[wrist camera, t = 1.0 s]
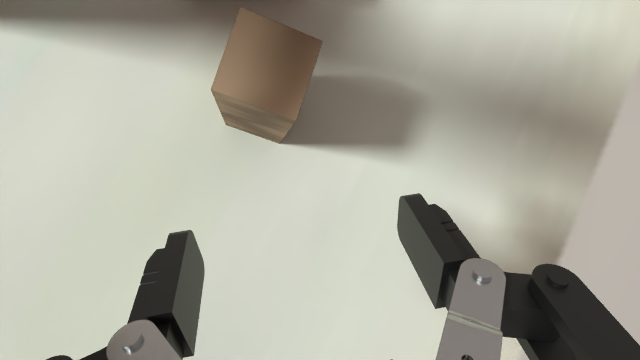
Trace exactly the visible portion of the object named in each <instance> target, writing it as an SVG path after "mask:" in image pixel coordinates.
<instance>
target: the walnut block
mask: <svg viewBox="0 0 640 360" xmlns="http://www.w3.org/2000/svg"><path fill="white" fill-rule="evenodd" d="M322 42H323V41H321V40H318V39H316V38H314V37H311V36H309V35H306V34H304V33H302V32H299V31H297V30H294V29H292V28H290V27H287V26H285V25H282V24H280V23H278V22H275V21H273V20H270V19H268V18H266V17H263V16H261V15H258V14H256V13H254V12H251V11H249V10H246V9H244V8H242V7H240V9H239V12H238V15H237V17H236V20H235V23H234V26H233V29H232V32H231V34H230V37H229V40H228V43H227V46H226V48H225V51H224V54H223V57H222V60H221V62H220V65H219V68H218V71H217V74H216V76H215V79H214V82H213V85H212V88H211V91H212V93H213V96H214V98H215V100H216V103H217V105H218V107H219V110H220V112H221V114H222V117H223V119H224V121H225V124H226V125H228V126H231V127H234V128H237V129H239V130H242V131H245V132H248V133H251V134H254V135H256V136H259V137H262V138H265V139H268V140H271V141H273V142H276V143H279V144H280V142H281V141H282V140H283V138H284V137H285V135H286V134H287V133H288V131H289V130H290V128H291V127H292V126H293V124H294V123H295V121H296V119H297V116H298V113H299V110H300V107H301V104H302V101H303V98H304V95H305V92H306V89H307V86H308V83H309V80H310V78H311V75H312V72H313V69H314V66H315V63H316V60H317V57H318V54H319V51H320V48H321V45H322Z"/></svg>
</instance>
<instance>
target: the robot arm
mask: <svg viewBox="0 0 640 360" xmlns="http://www.w3.org/2000/svg"><path fill="white" fill-rule="evenodd" d="M397 228H398V235H399V238H400V241H401V243H402V245H403V247H404V249H405V251H406V252H407V254H408V256H409V258H410V260H411V262H412V264H413V266H414V268H415V270H416V272H417V274H418V276H419V278H420V280H421V282H422V284H423V286H424V288H425V290H426V291H427V293H428V295H429V297H430V299H431V301H432V303H433V305H434V307H435V309H437V308H442V307H446V308H447V310H448V314H447V318H446V322H445V325H444V329H443V333H442V337H441V341H440V345H439V349H438V353H437V357H436V360H500V356H501V347H502V337H511V338H517V340H518V341H519V343H520V345H521V346H522V348H523V350H524V351H525V353H526V355H527V356H528V358H529V359H530V360H640V345H639V344H638V343H637V342H636V341H635V340H634V339H633V338H632V337H631V335H630V334H629V333H628V332H627V331H626V330H625V329H624V328H623V327H622V325H621V324H620V323H619V322H618V321H617V320H616V319H615V318H614V317H613V316H612V314H611V313H610V312H609V311H608V310H607V309H606V308H605V307H604V305H603V304H602V303H601V302H600V301H599V300H598V299H597V298H596V297H595V295H594V294H593V293H592V292H591V291H590V290H589V289H588V288H587V287H586V286H585V284H583V282H582V281H581V280H580V279H579V278H578V277H577V276H576V275H575V274H574V273H572V272H571V271H569V270H567V269H565V268H563V267H561V266H557V265H553V264H542V265H539V266H537V267H536V268H535V269H534V270H533V272H532V275H529V274H517V273H507V272H503V271H502V270H501V269H500V268H499V267H498V266H497V265H496V264H494V263H492V262H490V261H488V260H485V259H481V258H480V257H479V255H478V254H477V253H476V251H475V250H474V248H473V247H472V246H471V244H470V243H469V242H468V240H467V239H466V238H465V236H464V235H463V234H462V232H461V231H460V230H459V228H458V227H457V225H456V224H455V223H453V220H452V219H451V217H450V216H449V215H448V213H447V212H446V211H445V210H443V209H442V208H440V207H439V206H437V205H436V204H431V205H428V204H427V202H426V201H425V199H424V198H423V196H422V195H421V194H419V193H418V194H412V195H406V196H401V197H400V199H399V210H398V224H397ZM143 274H144V276H142V279H141V282H140V284H141V285H140V286H139V289H138V292H137V295H136V298H135V301H134V305H133V308H132V311H131V314H130V317H129V320H128V323H127V325H125V326H123V327H122V328H121V329H119V330H118V331H117V332H116V333H115V334H114V335H113V337H112V338H111V340H110V341H109V343H108V346H107V347H105V348H103V349H101V350H99V351H97V352H95V353H93V354H91V355H89V356H86V357H84V358H82V359H80V360H183V358H184V357H189V356H194V350H195V342H196V335H197V327H198V319H199V312H200V304H201V296H202V289H203V281H204V262H203V258H202V255H201V253H200V250H199V247H198V245H197V242H196V239H195V237H194V234H193V232H192V231H191V230H187V231H181V232H175V233H170V234H169V236H168V239H167V243H166V246H165V248H163V249H157V250H156V251H155V252H154V253H153V255H152V256H151V257H150V258H149V260H148V261H147V263H146V266H145V270H144V273H143ZM46 360H72V359H71V358H70V357H68V356H65V355H59V356H54V357H51V358H49V359H46ZM392 360H393V359H392Z"/></svg>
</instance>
